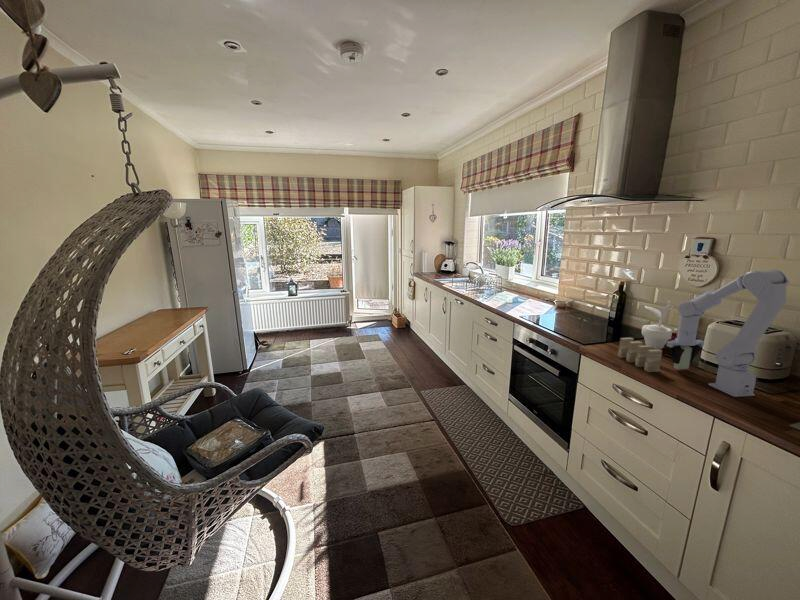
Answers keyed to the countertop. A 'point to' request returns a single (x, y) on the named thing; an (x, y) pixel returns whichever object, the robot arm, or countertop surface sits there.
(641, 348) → the domino
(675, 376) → the countertop surface
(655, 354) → the domino
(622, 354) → the domino
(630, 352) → the domino
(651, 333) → the potted plant
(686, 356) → the domino
